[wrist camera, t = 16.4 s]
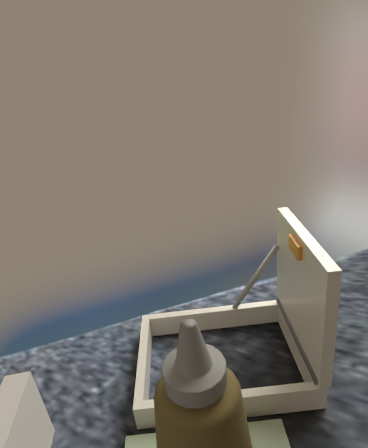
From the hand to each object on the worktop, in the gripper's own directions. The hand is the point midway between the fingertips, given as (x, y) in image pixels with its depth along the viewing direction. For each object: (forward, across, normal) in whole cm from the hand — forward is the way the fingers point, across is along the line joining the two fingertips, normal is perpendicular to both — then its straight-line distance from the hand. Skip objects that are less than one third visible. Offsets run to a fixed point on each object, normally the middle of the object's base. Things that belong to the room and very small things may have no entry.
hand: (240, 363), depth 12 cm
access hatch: (+24, +3, -25) cm, 35 cm away
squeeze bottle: (+10, -1, -25) cm, 27 cm away
